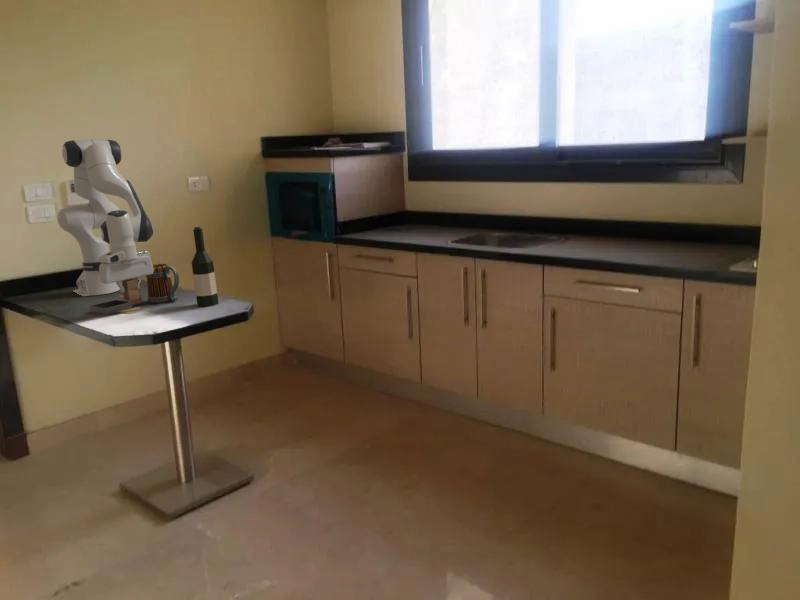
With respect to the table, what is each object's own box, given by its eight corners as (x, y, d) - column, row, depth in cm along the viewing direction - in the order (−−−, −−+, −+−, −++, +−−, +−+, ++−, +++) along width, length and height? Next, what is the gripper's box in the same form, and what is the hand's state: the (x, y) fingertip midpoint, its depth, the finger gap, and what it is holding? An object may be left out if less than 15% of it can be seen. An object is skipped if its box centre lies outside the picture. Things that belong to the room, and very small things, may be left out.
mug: (142, 304, 267) (136, 267, 264) (163, 298, 276) (157, 262, 273) (171, 306, 260) (165, 268, 257) (191, 300, 269) (185, 263, 266)
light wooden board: (118, 313, 255) (118, 311, 255) (137, 308, 261) (137, 306, 261) (129, 315, 250) (129, 314, 250) (148, 310, 256) (148, 309, 256)
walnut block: (124, 299, 254) (121, 281, 252) (133, 297, 257) (130, 279, 255) (129, 300, 252) (126, 281, 250) (139, 297, 255) (136, 279, 253)
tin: (91, 313, 258) (89, 305, 257) (117, 306, 266) (116, 299, 266) (105, 316, 251) (104, 308, 251) (132, 309, 260) (131, 302, 259)
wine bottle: (221, 301, 264) (211, 225, 257) (215, 306, 255) (204, 227, 249) (200, 302, 264) (190, 226, 257) (193, 307, 256) (182, 229, 249)
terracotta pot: (120, 305, 268) (118, 296, 267) (134, 302, 272) (132, 293, 271) (128, 307, 264) (127, 297, 263) (142, 303, 269) (140, 294, 268)
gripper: (144, 249, 260) (150, 284, 263) (94, 258, 245) (100, 295, 248) (153, 250, 256) (159, 285, 260) (103, 259, 241) (109, 297, 244)
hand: (130, 290), depth 254 cm, fingers closed on walnut block, 4 cm apart
